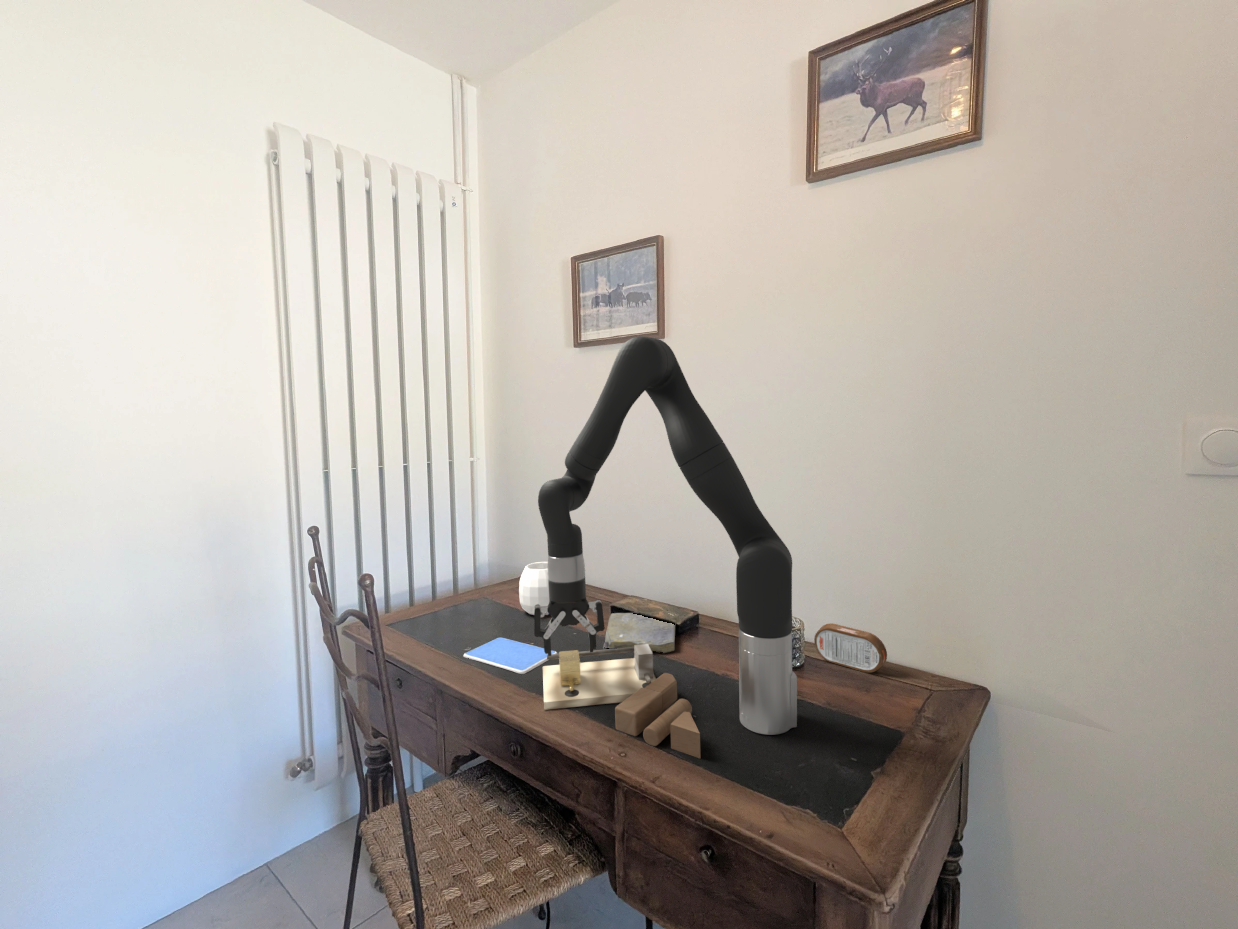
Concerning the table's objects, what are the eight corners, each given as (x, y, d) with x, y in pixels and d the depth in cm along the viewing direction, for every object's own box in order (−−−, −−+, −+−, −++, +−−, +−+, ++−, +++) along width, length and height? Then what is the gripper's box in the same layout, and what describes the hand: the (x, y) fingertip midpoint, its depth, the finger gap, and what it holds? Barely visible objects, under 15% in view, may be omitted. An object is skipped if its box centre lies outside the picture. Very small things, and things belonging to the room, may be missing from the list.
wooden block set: (610, 704, 101) (662, 665, 116) (611, 734, 101) (663, 692, 116) (696, 731, 91) (741, 686, 106) (697, 765, 92) (742, 715, 106)
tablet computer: (461, 658, 135) (461, 653, 135) (500, 640, 145) (499, 635, 145) (522, 677, 124) (522, 671, 124) (559, 656, 135) (559, 651, 135)
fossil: (601, 659, 134) (675, 656, 132) (600, 640, 134) (673, 636, 132) (612, 629, 154) (676, 626, 152) (610, 613, 154) (674, 609, 152)
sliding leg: (578, 673, 120) (578, 650, 120) (582, 692, 112) (581, 667, 112) (559, 674, 120) (558, 651, 119) (561, 694, 111) (560, 669, 111)
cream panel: (646, 663, 128) (645, 634, 128) (661, 698, 112) (660, 664, 112) (542, 672, 125) (541, 642, 124) (544, 709, 109) (542, 675, 109)
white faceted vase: (563, 619, 158) (561, 571, 157) (515, 620, 158) (513, 572, 157) (567, 603, 171) (566, 559, 170) (524, 604, 171) (522, 560, 170)
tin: (887, 673, 120) (887, 635, 120) (882, 679, 118) (882, 639, 117) (818, 654, 131) (818, 618, 130) (812, 659, 128) (812, 622, 128)
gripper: (531, 583, 111) (535, 664, 112) (603, 577, 113) (607, 657, 114) (531, 573, 119) (535, 649, 120) (599, 568, 120) (602, 642, 122)
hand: (570, 652), depth 117 cm, fingers open, 8 cm apart
